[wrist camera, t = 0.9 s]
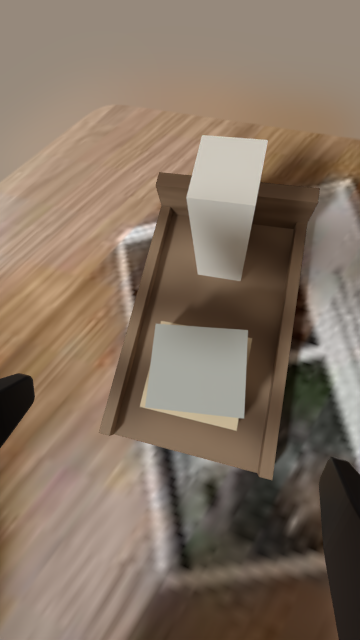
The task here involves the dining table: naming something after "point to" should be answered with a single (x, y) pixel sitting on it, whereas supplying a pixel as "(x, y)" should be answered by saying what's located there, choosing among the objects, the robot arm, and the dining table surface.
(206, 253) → the tall board
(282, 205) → the walnut tray
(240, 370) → the grey offcut
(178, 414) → the pine offcut
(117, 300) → the dining table surface
